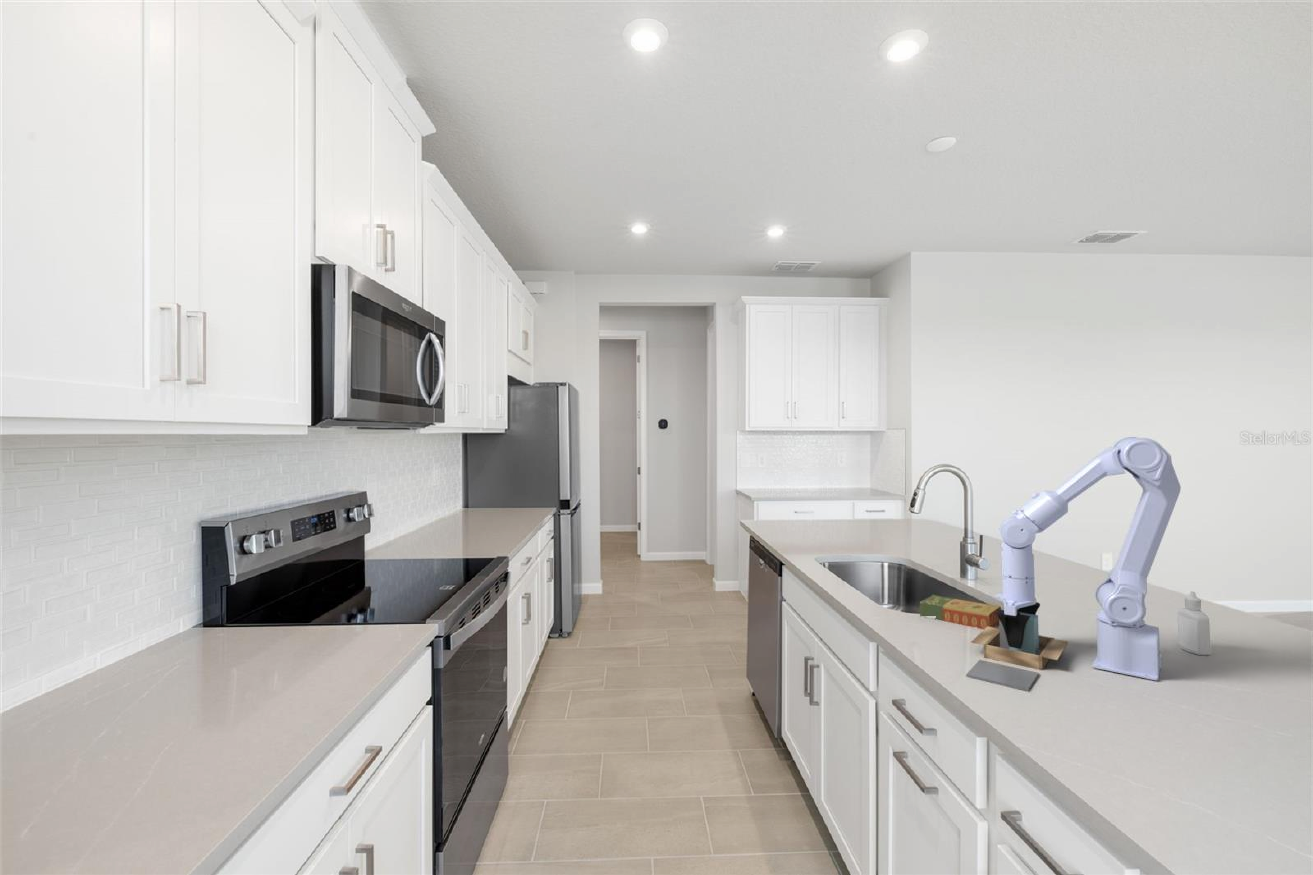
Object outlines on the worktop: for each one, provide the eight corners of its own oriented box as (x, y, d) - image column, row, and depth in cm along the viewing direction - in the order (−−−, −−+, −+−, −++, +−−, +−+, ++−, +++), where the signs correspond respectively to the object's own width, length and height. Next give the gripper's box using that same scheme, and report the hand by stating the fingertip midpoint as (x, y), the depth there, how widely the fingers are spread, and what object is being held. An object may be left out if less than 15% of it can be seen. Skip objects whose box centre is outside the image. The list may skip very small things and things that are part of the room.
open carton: (1069, 652, 119) (1068, 640, 119) (1057, 673, 110) (1056, 659, 110) (988, 637, 129) (987, 625, 129) (970, 654, 120) (970, 642, 120)
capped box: (1039, 654, 119) (1038, 614, 119) (1034, 660, 116) (1033, 619, 116) (1005, 647, 123) (1004, 609, 123) (1000, 653, 120) (999, 614, 120)
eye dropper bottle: (1181, 653, 117) (1180, 593, 117) (1177, 644, 122) (1176, 587, 122) (1211, 657, 115) (1210, 596, 115) (1205, 648, 119) (1204, 590, 119)
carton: (989, 632, 133) (989, 613, 133) (919, 617, 145) (918, 600, 145) (1002, 623, 139) (1001, 605, 139) (933, 609, 151) (932, 593, 151)
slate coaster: (1038, 675, 109) (1038, 672, 109) (1028, 691, 102) (1028, 689, 102) (979, 661, 116) (979, 659, 116) (966, 676, 109) (966, 674, 109)
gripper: (1004, 566, 127) (1006, 628, 127) (986, 580, 117) (988, 647, 117) (1042, 571, 122) (1044, 635, 122) (1027, 585, 112) (1029, 656, 112)
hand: (1019, 642), depth 119 cm, fingers open, 7 cm apart
